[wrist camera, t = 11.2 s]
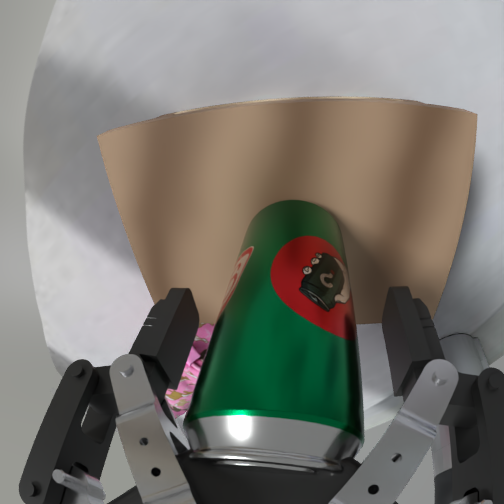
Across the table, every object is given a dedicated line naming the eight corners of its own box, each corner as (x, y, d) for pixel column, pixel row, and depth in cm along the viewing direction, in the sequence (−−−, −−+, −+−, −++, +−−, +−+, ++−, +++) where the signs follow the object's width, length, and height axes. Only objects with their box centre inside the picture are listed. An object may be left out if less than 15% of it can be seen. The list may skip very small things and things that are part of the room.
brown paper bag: (416, 94, 17) (477, 114, 10) (403, 248, 25) (432, 319, 18) (161, 109, 21) (96, 136, 14) (194, 253, 29) (161, 320, 21)
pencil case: (187, 289, 32) (160, 352, 25) (259, 326, 34) (248, 392, 27) (143, 364, 44) (124, 408, 37) (193, 388, 46) (179, 433, 38)
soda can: (240, 197, 15) (138, 435, 5) (341, 192, 14) (385, 455, 4) (254, 276, 18) (202, 483, 8) (340, 274, 17) (349, 493, 7)
